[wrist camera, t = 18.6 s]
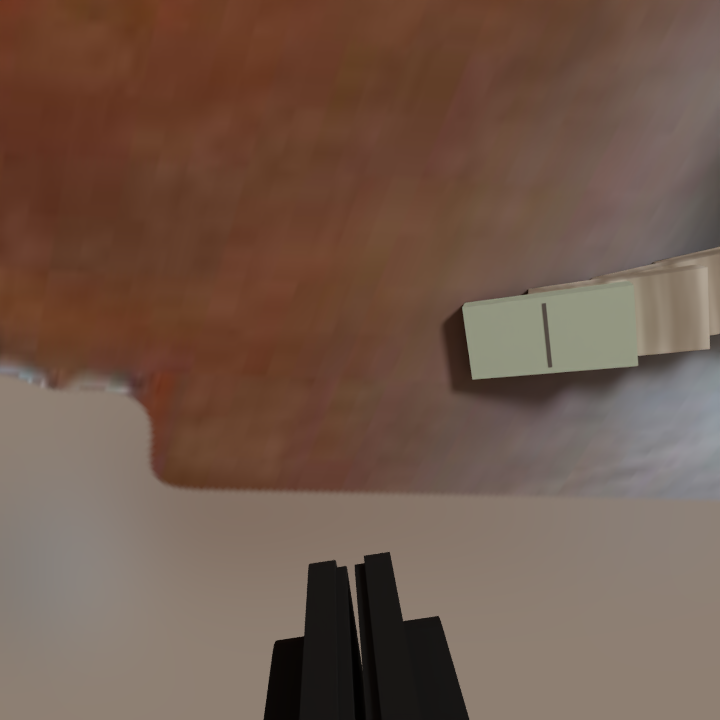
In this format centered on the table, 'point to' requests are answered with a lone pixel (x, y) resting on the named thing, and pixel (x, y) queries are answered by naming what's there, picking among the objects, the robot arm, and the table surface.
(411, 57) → the table surface
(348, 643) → the robot arm
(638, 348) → the domino
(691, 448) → the table surface
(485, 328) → the domino
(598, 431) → the table surface
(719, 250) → the domino
